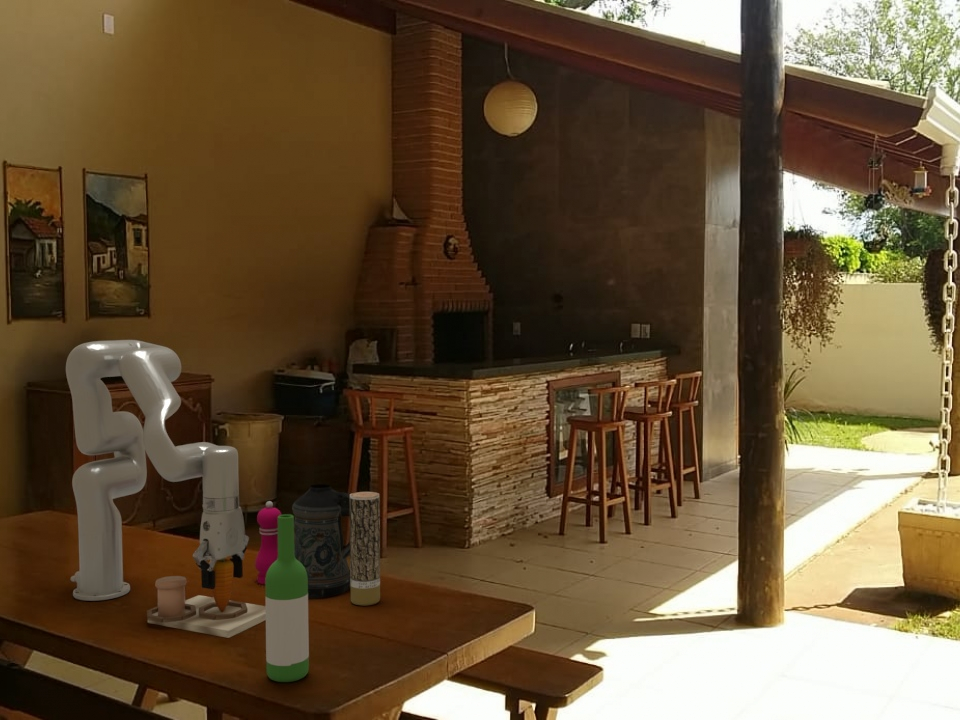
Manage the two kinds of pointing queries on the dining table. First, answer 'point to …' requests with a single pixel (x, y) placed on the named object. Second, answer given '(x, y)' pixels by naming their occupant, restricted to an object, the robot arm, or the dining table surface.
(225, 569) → the carrot
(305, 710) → the dining table surface
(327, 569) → the beer stein
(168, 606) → the pink lidded jar
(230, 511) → the robot arm
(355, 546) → the paper tube
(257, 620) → the stand
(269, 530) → the pepper mill
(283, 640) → the wine bottle
